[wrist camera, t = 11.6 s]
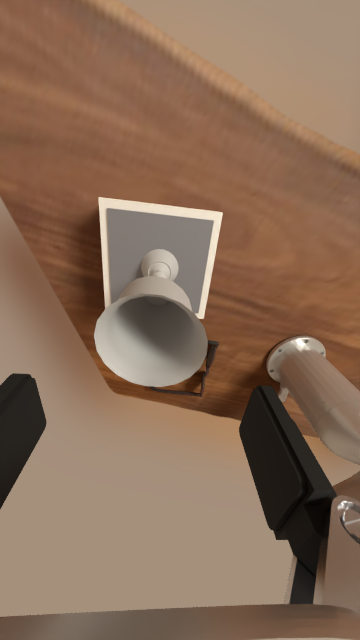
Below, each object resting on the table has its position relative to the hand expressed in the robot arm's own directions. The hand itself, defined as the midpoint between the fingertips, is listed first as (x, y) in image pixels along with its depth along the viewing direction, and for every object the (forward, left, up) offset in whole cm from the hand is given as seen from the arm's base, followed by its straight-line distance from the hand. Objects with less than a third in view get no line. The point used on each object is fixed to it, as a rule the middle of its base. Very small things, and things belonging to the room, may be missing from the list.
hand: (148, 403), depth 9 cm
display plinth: (0, 0, -30) cm, 30 cm away
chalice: (0, 0, -23) cm, 23 cm away
